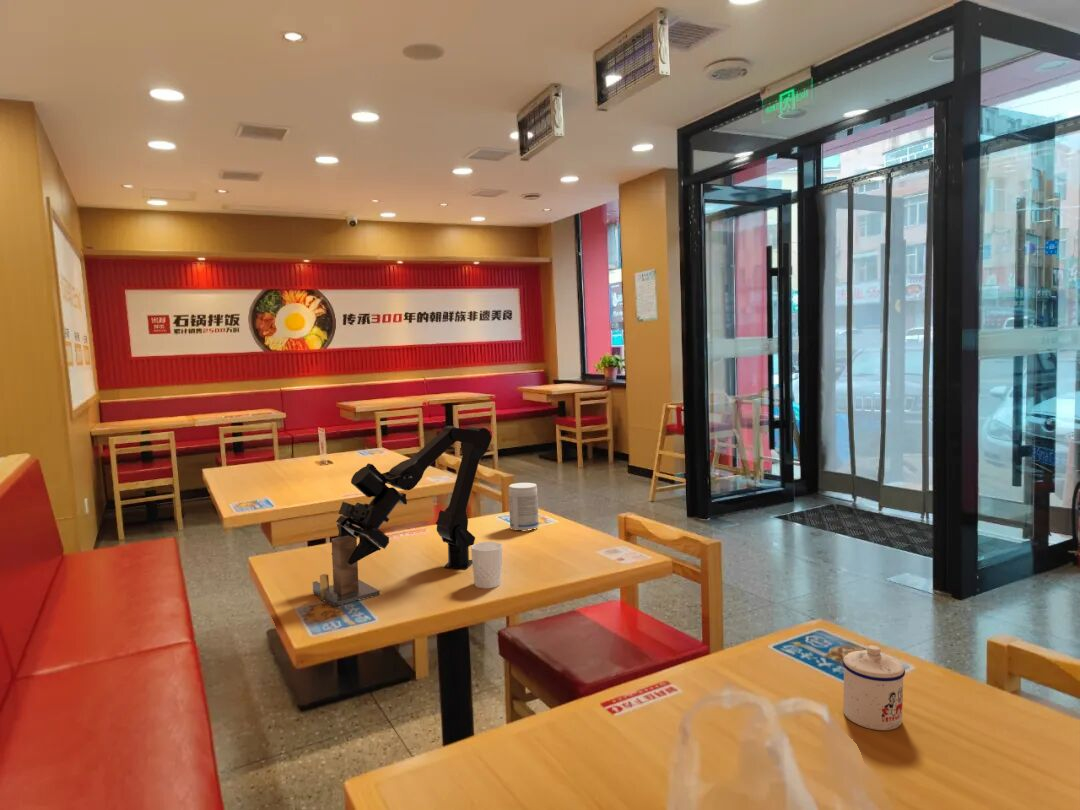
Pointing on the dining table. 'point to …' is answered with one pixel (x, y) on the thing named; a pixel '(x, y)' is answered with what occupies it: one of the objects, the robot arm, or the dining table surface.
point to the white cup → (487, 564)
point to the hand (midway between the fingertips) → (340, 559)
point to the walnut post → (344, 565)
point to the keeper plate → (335, 598)
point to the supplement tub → (523, 506)
